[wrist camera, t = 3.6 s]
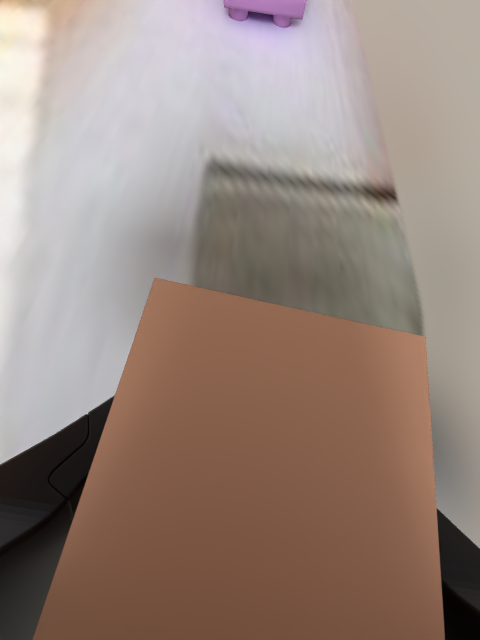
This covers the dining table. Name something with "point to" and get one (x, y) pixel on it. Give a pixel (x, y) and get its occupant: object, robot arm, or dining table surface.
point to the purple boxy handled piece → (267, 9)
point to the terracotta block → (256, 483)
